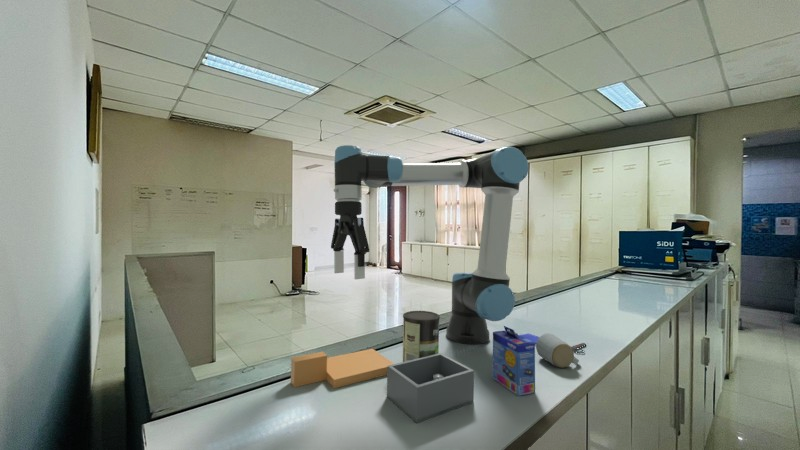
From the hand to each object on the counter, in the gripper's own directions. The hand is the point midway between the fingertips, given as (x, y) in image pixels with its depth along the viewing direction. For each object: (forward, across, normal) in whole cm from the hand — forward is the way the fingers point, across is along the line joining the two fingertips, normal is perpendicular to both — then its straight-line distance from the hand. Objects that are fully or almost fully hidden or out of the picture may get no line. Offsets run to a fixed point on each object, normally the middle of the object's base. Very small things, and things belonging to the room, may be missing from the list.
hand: (348, 275), depth 93 cm
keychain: (+28, +29, +67) cm, 78 cm away
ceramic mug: (+27, +32, +52) cm, 67 cm away
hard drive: (+27, +16, +59) cm, 67 cm away
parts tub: (+25, +28, +6) cm, 38 cm away
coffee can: (+25, +12, +16) cm, 32 cm away
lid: (+24, +6, -5) cm, 26 cm away
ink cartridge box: (+26, +34, +28) cm, 51 cm away
